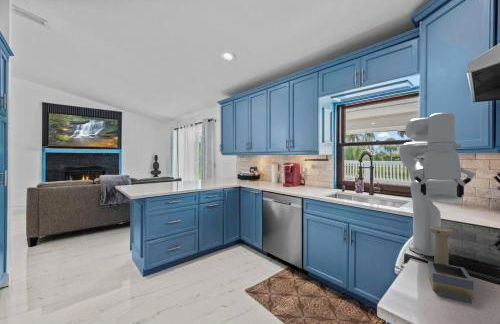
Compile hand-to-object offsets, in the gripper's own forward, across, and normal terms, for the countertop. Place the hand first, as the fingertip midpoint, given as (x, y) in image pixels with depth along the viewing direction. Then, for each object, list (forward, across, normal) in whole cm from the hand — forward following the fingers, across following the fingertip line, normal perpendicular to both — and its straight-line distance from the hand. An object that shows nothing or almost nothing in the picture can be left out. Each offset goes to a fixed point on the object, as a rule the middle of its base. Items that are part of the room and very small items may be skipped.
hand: (441, 195), depth 80 cm
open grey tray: (+27, 0, +12) cm, 29 cm away
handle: (+27, 0, 0) cm, 27 cm away
